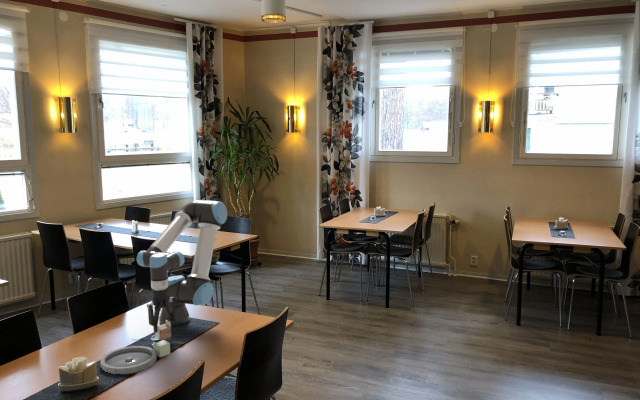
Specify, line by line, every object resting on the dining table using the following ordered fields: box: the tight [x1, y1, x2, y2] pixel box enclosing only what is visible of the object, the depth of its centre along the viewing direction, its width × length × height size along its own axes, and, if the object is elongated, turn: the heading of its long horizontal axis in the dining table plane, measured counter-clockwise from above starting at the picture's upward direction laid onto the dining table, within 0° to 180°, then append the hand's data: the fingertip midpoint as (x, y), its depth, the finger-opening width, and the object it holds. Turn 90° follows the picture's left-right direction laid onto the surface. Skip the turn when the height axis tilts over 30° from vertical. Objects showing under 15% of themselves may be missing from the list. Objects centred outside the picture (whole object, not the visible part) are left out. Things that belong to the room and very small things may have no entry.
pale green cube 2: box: [153, 339, 171, 358], centre depth 230 cm, size 5×5×5 cm
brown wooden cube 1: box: [159, 324, 172, 341], centre depth 240 cm, size 5×5×5 cm
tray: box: [100, 345, 158, 375], centre depth 221 cm, size 22×22×3 cm
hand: (163, 336), depth 241 cm, fingers closed on brown wooden cube 1, 5 cm apart
